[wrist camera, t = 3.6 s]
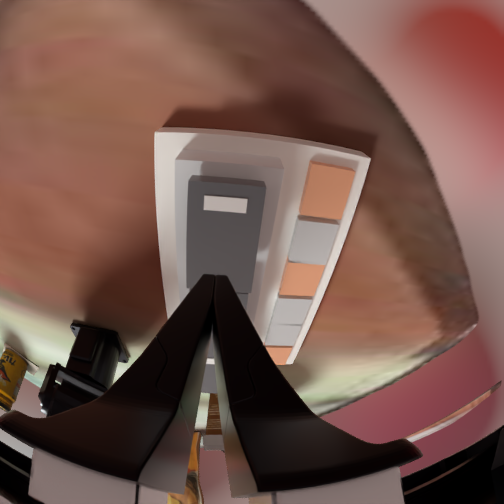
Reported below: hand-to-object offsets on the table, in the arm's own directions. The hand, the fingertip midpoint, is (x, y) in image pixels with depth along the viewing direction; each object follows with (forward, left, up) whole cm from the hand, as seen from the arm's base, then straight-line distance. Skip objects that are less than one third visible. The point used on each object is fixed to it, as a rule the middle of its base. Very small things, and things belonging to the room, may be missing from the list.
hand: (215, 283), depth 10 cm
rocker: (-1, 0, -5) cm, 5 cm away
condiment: (-36, +39, -10) cm, 54 cm away
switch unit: (-8, -2, -10) cm, 13 cm away
